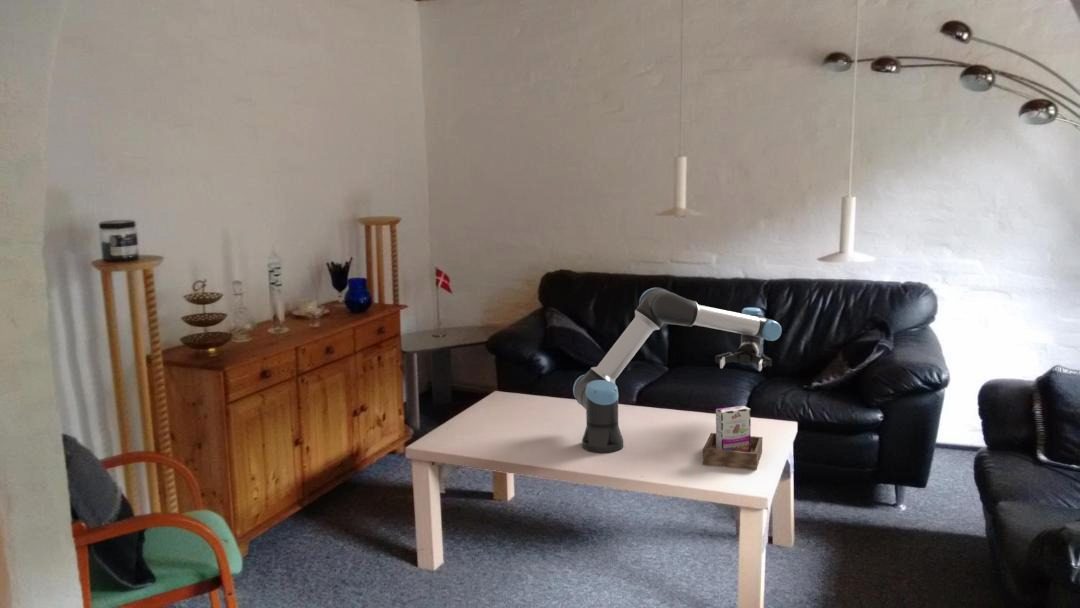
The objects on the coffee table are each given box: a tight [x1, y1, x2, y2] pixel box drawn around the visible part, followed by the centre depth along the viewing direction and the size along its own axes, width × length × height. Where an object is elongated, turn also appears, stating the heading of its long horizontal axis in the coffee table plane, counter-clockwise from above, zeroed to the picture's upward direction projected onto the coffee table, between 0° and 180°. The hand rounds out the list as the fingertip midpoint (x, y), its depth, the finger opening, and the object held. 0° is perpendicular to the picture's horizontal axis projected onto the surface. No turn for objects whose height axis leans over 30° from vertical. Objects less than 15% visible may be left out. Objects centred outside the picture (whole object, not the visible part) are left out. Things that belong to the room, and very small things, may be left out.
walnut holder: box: [702, 432, 763, 471], centre depth 300 cm, size 18×18×6 cm
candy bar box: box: [715, 405, 752, 452], centre depth 298 cm, size 11×5×16 cm, turn 106°
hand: (740, 365), depth 310 cm, fingers open, 13 cm apart
